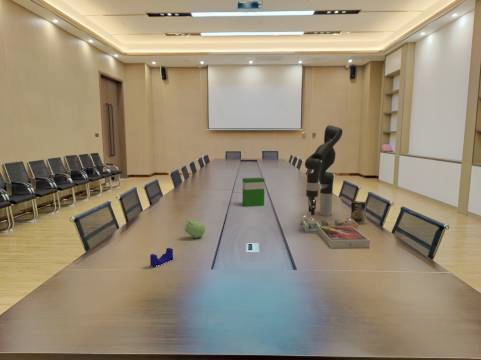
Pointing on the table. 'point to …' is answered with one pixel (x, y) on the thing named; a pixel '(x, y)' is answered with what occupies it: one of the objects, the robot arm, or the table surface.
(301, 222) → the cell
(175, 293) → the table surface
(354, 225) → the grey piece
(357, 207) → the coffee box
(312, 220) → the cell
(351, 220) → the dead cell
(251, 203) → the hardback book
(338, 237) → the product packaging
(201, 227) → the green round fruit
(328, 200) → the robot arm
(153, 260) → the cable clip
